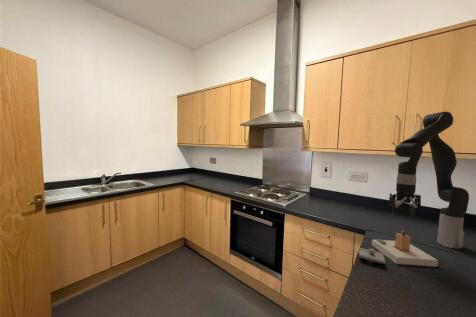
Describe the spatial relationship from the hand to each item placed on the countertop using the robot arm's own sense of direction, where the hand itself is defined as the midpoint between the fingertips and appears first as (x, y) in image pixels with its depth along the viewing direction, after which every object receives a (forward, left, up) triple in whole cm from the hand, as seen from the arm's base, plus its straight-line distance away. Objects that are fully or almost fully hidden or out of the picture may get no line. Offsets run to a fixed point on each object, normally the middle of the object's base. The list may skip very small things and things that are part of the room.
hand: (403, 214), depth 103 cm
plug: (+2, +4, -19) cm, 20 cm away
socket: (+2, +3, -19) cm, 20 cm away
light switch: (+21, +10, -20) cm, 31 cm away
